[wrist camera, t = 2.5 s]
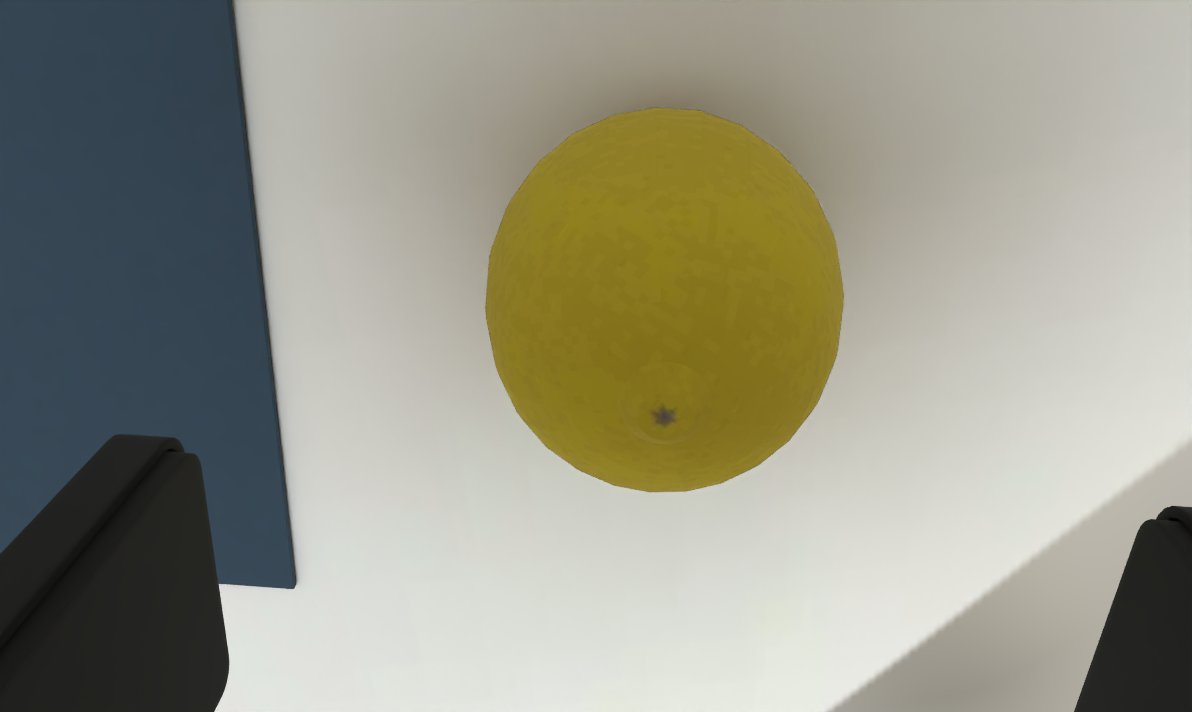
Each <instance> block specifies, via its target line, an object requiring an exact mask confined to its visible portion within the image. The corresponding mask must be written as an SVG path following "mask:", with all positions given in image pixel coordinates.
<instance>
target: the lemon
mask: <svg viewBox="0 0 1192 712" xmlns="http://www.w3.org/2000/svg"><path fill="white" fill-rule="evenodd" d="M843 299H844V293H843V285H842V278H841V272H840V265H839V259H838V252H837V246H836V241H835V238H834V235H833V232H832V230H831V228H830V226H829V224H828V222H827V219H826V217H825V215H824V213H823V211H822V209H821V206H820V204H819V202H818V200H817V198H816V196H815V194H814V192H813V190H812V189H811V187H810V186H809V185H808V184H807V183H806V181H805V180H804V179H803V178H802V177H801V176H800V175H799V173H798V172H797V171H796V170H795V169H794V168H793V166H792V165H791V164H790V163H789V162H788V161H787V160H786V158H785V157H784V156H783V155H782V154H781V153H780V152H779V151H778V150H777V149H775V148H774V147H772V146H771V145H769V144H768V143H766V142H765V141H763V140H762V139H760V138H759V137H757V136H756V135H754V134H753V133H752V132H750V131H749V130H747V129H746V128H744V127H743V126H741V125H739V124H736V123H733V122H730V121H727V120H724V119H722V118H719V117H716V116H713V115H710V114H707V113H704V112H701V111H697V110H683V109H670V108H651V109H645V110H639V111H634V112H628V113H622V114H617V115H613V116H611V117H609V118H606V119H604V120H602V121H600V122H598V123H595V124H593V125H591V126H589V127H586V128H584V129H582V130H580V131H578V132H576V133H574V134H572V135H571V136H570V137H569V138H567V139H566V140H565V141H564V142H563V143H561V144H560V145H559V146H558V147H556V148H555V149H554V150H553V151H552V152H550V153H549V154H548V155H547V156H546V157H544V158H543V159H542V160H541V161H539V163H538V164H537V165H536V166H535V167H534V169H533V170H532V172H531V173H530V174H529V176H528V177H527V178H526V180H525V181H524V183H523V184H522V185H521V187H520V188H519V190H518V191H517V192H516V194H515V195H514V196H513V198H512V199H511V201H510V202H509V204H508V206H507V208H506V211H505V214H504V216H503V219H502V222H501V224H500V227H499V230H498V232H497V235H496V238H495V240H494V243H493V246H492V249H491V252H490V256H489V268H488V280H487V293H486V306H485V308H486V319H487V324H488V329H489V335H490V340H491V345H492V350H493V356H494V360H495V365H496V368H497V371H498V373H499V376H500V378H501V380H502V382H503V384H504V386H505V389H506V391H507V393H508V395H509V397H510V399H511V401H512V403H513V405H514V407H515V409H516V411H517V413H518V414H519V415H520V417H521V418H522V419H523V421H524V422H525V423H526V424H527V425H528V426H529V428H530V429H531V430H532V431H533V432H534V433H535V435H536V436H537V437H538V438H539V439H540V440H541V441H542V443H543V444H544V445H545V446H546V447H547V448H548V449H550V450H551V451H553V452H554V453H555V454H557V455H558V456H560V457H561V458H562V459H564V460H565V461H567V462H568V463H569V464H571V465H572V466H573V467H575V468H576V469H578V470H580V471H582V472H584V473H586V474H589V475H591V476H593V477H596V478H598V479H600V480H603V481H605V482H607V483H610V484H612V485H614V486H619V487H625V488H630V489H635V490H641V491H646V492H681V491H690V490H694V489H699V488H703V487H707V486H712V485H716V484H720V483H723V482H725V481H727V480H729V479H731V478H733V477H735V476H738V475H740V474H742V473H744V472H746V471H748V470H750V469H752V468H754V467H756V466H758V465H759V464H761V463H762V462H763V461H764V460H766V459H767V458H768V457H769V456H771V455H772V454H773V453H774V452H776V451H777V450H778V449H779V448H781V447H782V446H783V445H784V444H786V443H787V442H788V441H789V440H790V439H791V438H792V436H793V435H794V434H795V432H796V431H797V430H798V429H799V427H800V426H801V425H802V423H803V422H804V421H805V420H806V418H807V417H808V416H809V414H810V413H811V412H812V410H813V409H814V407H815V406H816V404H817V403H818V401H819V399H820V396H821V394H822V391H823V389H824V387H825V384H826V382H827V379H828V377H829V375H830V372H831V370H832V367H833V365H834V362H835V359H836V356H837V350H838V344H839V336H840V328H841V320H842V311H843Z"/></svg>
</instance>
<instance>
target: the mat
mask: <svg viewBox="0 0 1192 712" xmlns="http://www.w3.org/2000/svg"><path fill="white" fill-rule="evenodd" d="M116 434H131V435H146V436H160V437H174V438H176V439H178V440H179V441H180V442H181V444H182V446H183V447H184V451H185V453H194V454H195V455H197V456H198V458H199V460H200V463H201V467H202V473H203V480H204V487H205V494H206V501H207V508H208V515H209V522H210V529H211V536H212V543H213V550H214V557H215V563H216V570H217V577H218V584H231V585H245V586H259V587H272V588H286V589H294V587H295V585H296V578H295V569H294V560H293V551H292V542H291V533H290V524H289V515H288V506H287V497H286V488H285V479H284V470H283V461H282V452H281V443H280V433H279V424H278V415H277V406H276V397H275V388H274V379H273V370H272V361H271V352H270V343H269V334H268V325H267V316H266V307H265V298H264V289H263V280H262V271H261V262H260V253H259V244H258V235H257V226H256V217H255V208H254V199H253V190H252V181H251V172H250V163H249V153H248V144H247V135H246V126H245V117H244V108H243V99H242V90H241V81H240V72H239V63H238V54H237V45H236V36H235V27H234V18H233V9H232V0H0V554H1V553H2V552H3V550H4V549H5V548H6V547H7V546H8V545H9V544H10V543H11V542H12V541H13V540H14V539H15V538H16V537H17V536H18V535H19V534H20V532H21V531H22V530H23V529H24V528H25V527H26V526H27V525H28V524H29V523H30V522H31V521H32V520H33V519H34V518H35V517H36V516H37V515H38V513H39V512H40V511H41V510H42V509H43V508H44V507H45V506H46V505H47V504H48V503H49V502H50V501H51V500H52V499H53V498H54V497H55V496H56V494H57V493H58V492H59V491H60V490H61V489H62V488H63V487H64V486H65V485H66V484H67V483H68V482H69V481H70V480H71V479H72V478H73V476H74V475H75V474H76V473H77V472H78V471H79V470H80V469H81V468H82V467H83V466H84V465H85V464H86V463H87V462H88V461H89V460H90V459H91V457H92V456H93V455H94V454H95V453H96V452H97V451H98V450H99V449H100V448H101V447H102V446H103V445H104V444H105V443H106V442H107V441H108V440H109V439H110V438H111V437H113V436H114V435H116Z"/></svg>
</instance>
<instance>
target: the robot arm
mask: <svg viewBox="0 0 1192 712" xmlns="http://www.w3.org/2000/svg"><path fill="white" fill-rule="evenodd" d="M228 673H229V654H228V647H227V640H226V633H225V626H224V619H223V612H222V605H221V598H220V591H219V584H218V577H217V570H216V563H215V557H214V550H213V543H212V536H211V529H210V522H209V515H208V508H207V501H206V494H205V487H204V480H203V473H202V467H201V463H200V460H199V458H198V456H197V455H195V454H194V453H185V451H184V447H183V446H182V444H181V442H180V441H179V440H178V439H176V438H174V437H160V436H146V435H131V434H116V435H114V436H113V437H111V438H110V439H109V440H108V441H107V442H106V443H105V444H104V445H103V446H102V447H101V448H100V449H99V450H98V451H97V452H96V453H95V454H94V455H93V456H92V457H91V459H90V460H89V461H88V462H87V463H86V464H85V465H84V466H83V467H82V468H81V469H80V470H79V471H78V472H77V473H76V474H75V475H74V476H73V478H72V479H71V480H70V481H69V482H68V483H67V484H66V485H65V486H64V487H63V488H62V489H61V490H60V491H59V492H58V493H57V494H56V496H55V497H54V498H53V499H52V500H51V501H50V502H49V503H48V504H47V505H46V506H45V507H44V508H43V509H42V510H41V511H40V512H39V513H38V515H37V516H36V517H35V518H34V519H33V520H32V521H31V522H30V523H29V524H28V525H27V526H26V527H25V528H24V529H23V530H22V531H21V532H20V534H19V535H18V536H17V537H16V538H15V539H14V540H13V541H12V542H11V543H10V544H9V545H8V546H7V547H6V548H5V549H4V550H3V552H2V553H1V554H0V712H214V711H215V709H216V707H217V705H218V703H219V701H220V699H221V697H222V695H223V692H224V690H225V686H226V683H227V678H228ZM1074 712H1192V507H1180V506H1171V507H1167V508H1165V509H1164V510H1163V511H1162V512H1161V513H1160V514H1159V515H1158V517H1157V519H1156V520H1154V519H1150V520H1147V521H1145V522H1144V523H1143V524H1142V525H1141V527H1140V529H1139V531H1138V533H1137V535H1136V538H1135V541H1134V544H1133V547H1132V550H1131V552H1130V555H1129V558H1128V561H1127V564H1126V566H1125V569H1124V572H1123V575H1122V578H1121V580H1120V583H1119V586H1118V589H1117V592H1116V595H1115V598H1114V600H1113V603H1112V606H1111V609H1110V612H1109V614H1108V617H1107V620H1106V623H1105V626H1104V629H1103V631H1102V634H1101V637H1100V640H1099V643H1098V646H1097V648H1096V651H1095V654H1094V657H1093V660H1092V662H1091V665H1090V668H1089V671H1088V674H1087V677H1086V680H1085V682H1084V685H1083V688H1082V691H1081V694H1080V696H1079V699H1078V702H1077V705H1076V708H1075V711H1074Z"/></svg>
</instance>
